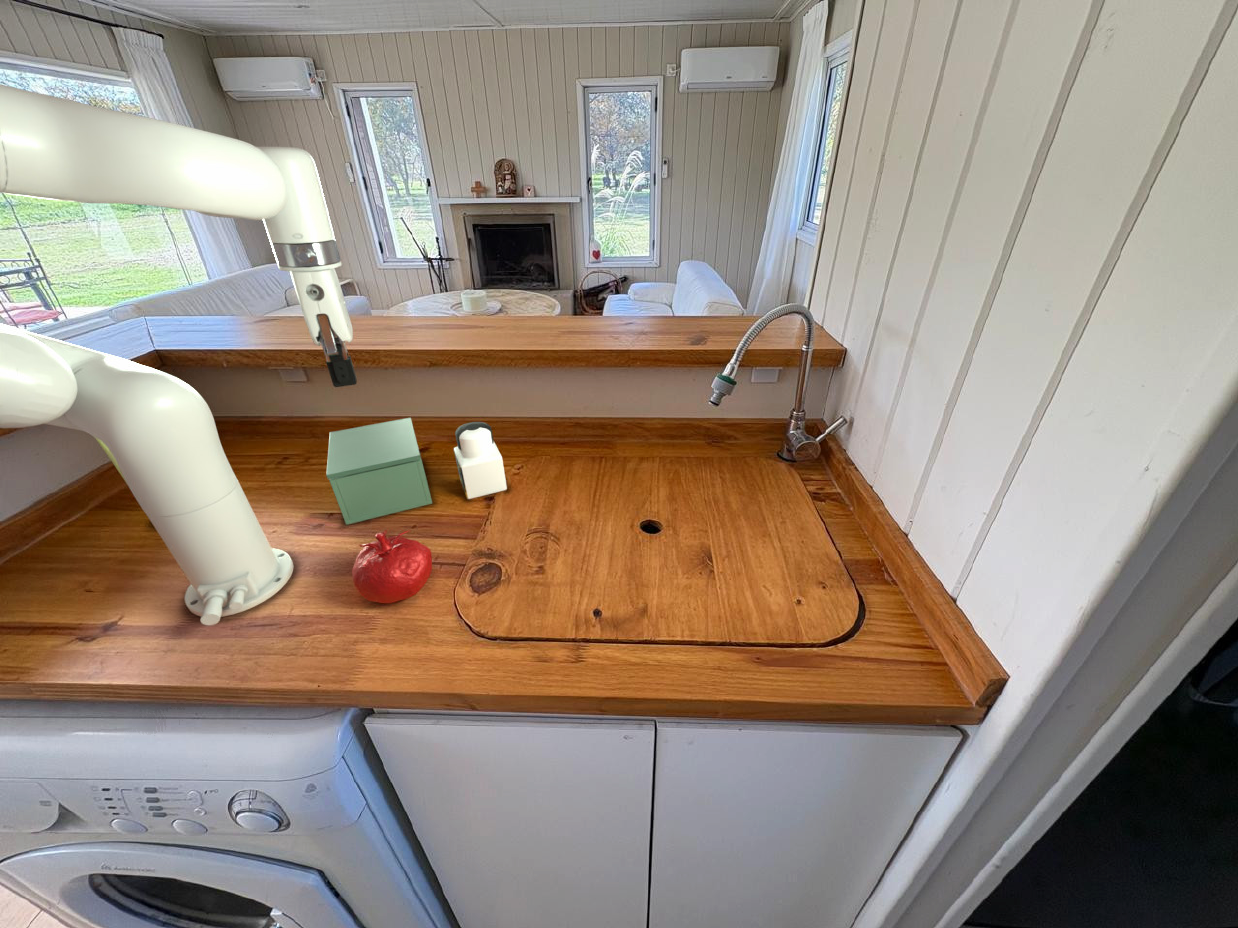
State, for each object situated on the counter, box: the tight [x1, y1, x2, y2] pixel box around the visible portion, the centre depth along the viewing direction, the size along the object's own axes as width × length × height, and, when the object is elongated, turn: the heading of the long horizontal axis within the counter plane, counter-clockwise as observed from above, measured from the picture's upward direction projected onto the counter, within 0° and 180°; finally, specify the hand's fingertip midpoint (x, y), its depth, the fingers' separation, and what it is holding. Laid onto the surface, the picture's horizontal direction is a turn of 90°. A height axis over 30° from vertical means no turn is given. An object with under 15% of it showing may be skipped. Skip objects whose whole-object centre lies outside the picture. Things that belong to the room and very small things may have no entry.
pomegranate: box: [351, 529, 433, 604], centre depth 67 cm, size 10×10×9 cm
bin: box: [328, 458, 433, 526], centre depth 87 cm, size 16×14×9 cm
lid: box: [326, 417, 422, 480], centre depth 84 cm, size 16×14×1 cm
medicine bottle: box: [453, 421, 508, 500], centre depth 88 cm, size 7×7×12 cm
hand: (345, 383), depth 76 cm, fingers closed
